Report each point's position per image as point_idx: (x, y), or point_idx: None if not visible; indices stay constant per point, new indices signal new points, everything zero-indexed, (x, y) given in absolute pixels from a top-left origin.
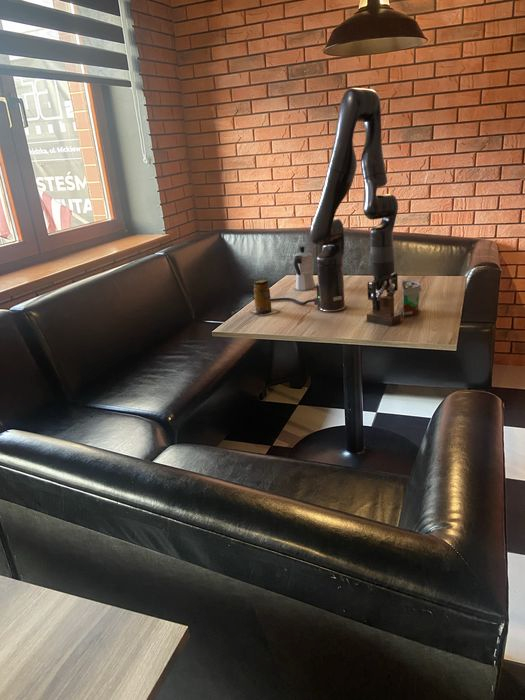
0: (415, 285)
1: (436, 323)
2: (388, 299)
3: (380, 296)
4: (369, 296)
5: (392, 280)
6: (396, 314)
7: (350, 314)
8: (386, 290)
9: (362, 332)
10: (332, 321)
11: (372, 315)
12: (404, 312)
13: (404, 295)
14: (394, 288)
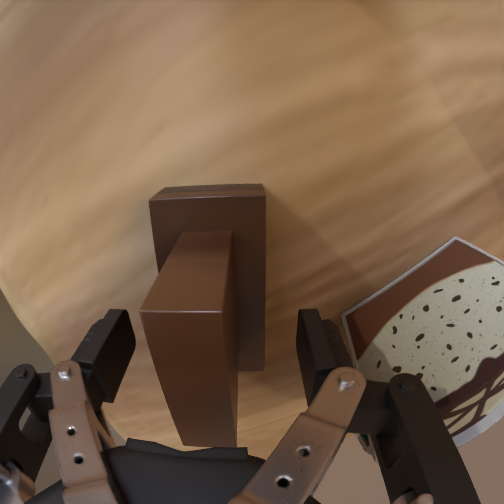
0: (500, 396)
1: None
2: (181, 432)
3: (186, 383)
4: (14, 392)
5: (409, 488)
6: (245, 361)
7: (239, 3)
8: (308, 411)
9: (46, 275)
10: (76, 23)
11: (156, 249)
12: (347, 333)
13: None
14: (376, 431)
